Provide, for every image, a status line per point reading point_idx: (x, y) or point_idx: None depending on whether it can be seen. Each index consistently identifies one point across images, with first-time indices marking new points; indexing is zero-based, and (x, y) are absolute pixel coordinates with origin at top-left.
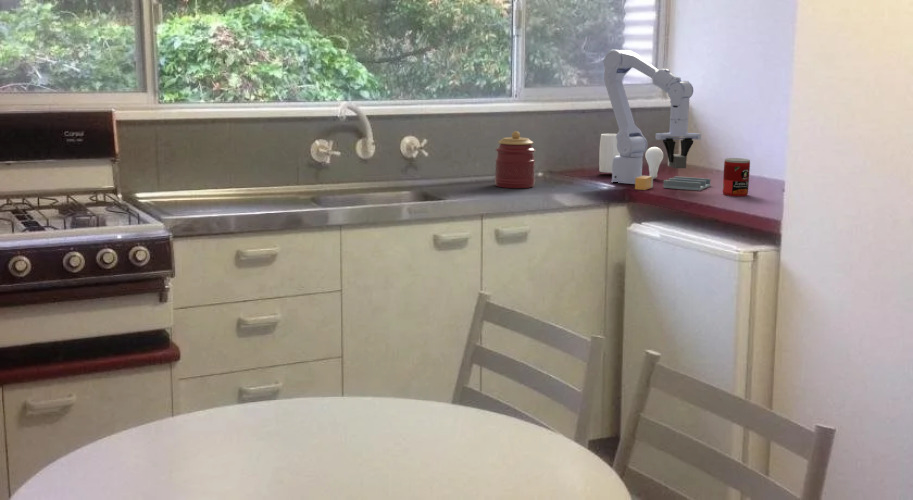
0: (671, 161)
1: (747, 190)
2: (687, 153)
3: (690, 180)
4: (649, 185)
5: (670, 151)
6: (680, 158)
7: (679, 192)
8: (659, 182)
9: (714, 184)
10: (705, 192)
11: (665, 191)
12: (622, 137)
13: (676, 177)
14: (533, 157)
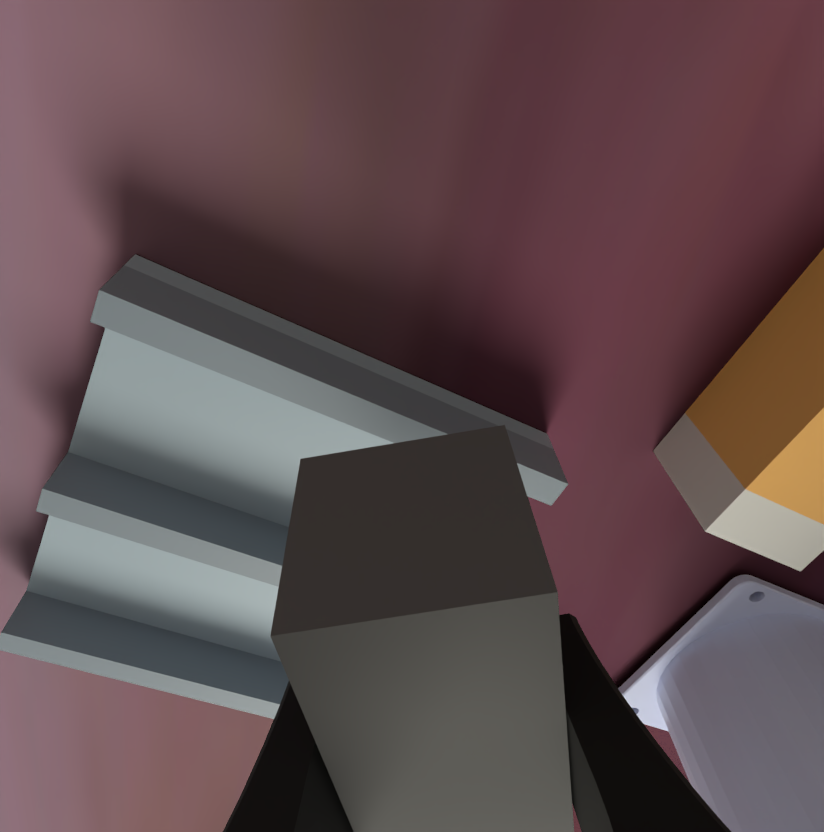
0: (573, 626)
1: None
2: (226, 829)
3: (229, 545)
4: (742, 381)
5: (711, 814)
6: (436, 582)
7: (449, 6)
8: None
9: (3, 684)
10: (47, 57)
11: (627, 103)
12: None
13: None
14: None
